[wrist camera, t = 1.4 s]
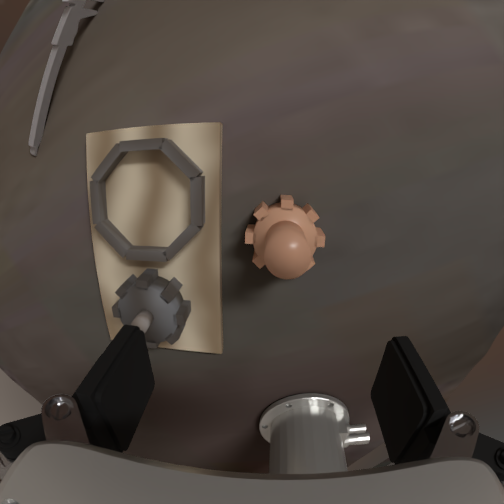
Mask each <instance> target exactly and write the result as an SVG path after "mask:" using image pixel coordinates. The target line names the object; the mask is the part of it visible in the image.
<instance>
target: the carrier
mask: <svg viewBox="0 0 504 504" xmlns="http://www.w3.org/2000/svg"><path fill="white" fill-rule="evenodd" d="M222 125H223V124H222V123H221V122H217V123H186V124H169V125H155V126H144V127H134V128H125V129H116V130H109V131H101V132H95V133H88V134H87V135H86V150H87V183H88V199H89V212H90V222H91V232H92V240H93V248H94V255H95V262H96V269H97V275H98V281H99V286H100V292H101V297H102V302H103V307H104V312H105V317H106V321H107V326H108V330H109V334H110V338H111V340H113V339H114V337H115V336H116V335H117V333H118V332H119V331H120V329H121V328H122V327H123V326H124V325H133V326H138V327H139V328H140V330H142V331H143V332H144V334H145V340H146V345H147V347H148V348H155V349H157V348H158V347H162V348H170V349H178V350H187V351H197V352H207V353H218V354H222V351H223V319H222V259H221V184H222Z"/></svg>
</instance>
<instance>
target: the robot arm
mask: <svg viewBox="0 0 504 504" xmlns="http://www.w3.org/2000/svg"><path fill="white" fill-rule="evenodd" d="M154 384H155V383H154V377H153V372H152V368H151V364H150V359H149V354H148V350H147V345H146V340H145V334H144V332H143V331H142V330H140V328H139V327H138V326H133V325H124V326H123V327H122V328H121V329H120V331H119V332H118V333H117V335H116V336H115V337H114V339H113V340H112V342H111V343H110V344H109V346H108V347H107V348H106V350H105V351H104V353H103V354H102V355H101V356H100V357H99V359H98V360H97V361H96V363H95V364H94V366H93V367H92V368H91V370H90V371H89V373H88V374H87V376H86V377H85V378H84V380H83V381H82V383H81V384H80V386H79V387H78V389H77V390H76V392H75V393H74V394H73V396H72V397H71V396H69V395H66V394H57V395H54V396H51V397H50V398H48V399H47V400H46V401H45V402H44V403H43V405H42V408H41V414H38V415H35V416H31V417H28V418H24V419H21V420H17V421H13V422H10V423H6V424H4V425H2V426H0V504H504V443H503V442H500V441H498V440H495V439H493V438H491V437H488V436H486V435H483V434H481V433H479V424H478V421H477V420H476V418H475V417H474V416H472V415H471V414H469V413H467V412H463V411H455V412H453V413H451V412H450V410H449V408H448V406H447V404H446V402H445V400H444V399H443V397H442V395H441V393H440V391H439V389H438V388H437V386H436V384H435V382H434V380H433V379H432V377H431V375H430V373H429V372H428V370H427V368H426V366H425V365H424V363H423V361H422V359H421V358H420V356H419V354H418V353H417V351H416V349H415V348H414V346H413V344H412V343H411V341H410V339H409V338H408V337H407V336H401V337H393V338H392V340H391V341H388V343H387V345H386V349H385V352H384V355H383V358H382V361H381V364H380V367H379V370H378V373H377V376H376V379H375V382H374V384H373V387H372V390H371V399H372V402H373V405H374V408H375V411H376V414H377V418H378V421H379V424H380V427H381V431H382V434H383V437H384V441H385V444H386V448H387V451H388V455H389V458H390V461H391V462H392V463H393V462H394V463H395V465H390V466H384V467H377V468H369V469H362V470H353V471H347V465H346V459H345V453H344V448H346V447H348V445H354V444H356V445H359V444H368V443H369V440H370V435H369V432H365V431H366V425H365V424H356V425H349V413H348V410H347V407H346V406H345V405H344V403H342V402H341V401H340V400H338V399H336V398H334V397H332V396H328V395H325V394H317V393H305V394H297V395H293V396H289V397H286V398H283V399H281V400H279V401H277V402H275V403H273V404H272V405H270V406H269V407H268V408H267V409H266V410H265V411H264V412H263V414H262V416H261V418H260V423H259V430H260V433H261V435H262V436H263V438H264V439H265V440H266V441H268V442H269V443H270V461H269V474H260V473H242V472H230V471H219V470H210V469H202V468H195V467H189V466H182V465H176V464H171V463H166V462H161V461H156V460H151V459H146V458H142V457H137V456H133V455H129V454H125V453H122V452H123V450H124V451H126V450H127V449H128V447H129V445H130V442H131V440H132V438H133V435H134V433H135V431H136V428H137V426H138V423H139V421H140V419H141V417H142V414H143V412H144V410H145V407H146V405H147V403H148V400H149V398H150V396H151V394H152V391H153V389H154ZM352 433H353V434H352Z"/></svg>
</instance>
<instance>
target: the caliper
mask: <svg viewBox="0 0 504 504" xmlns="http://www.w3.org/2000/svg"><path fill="white" fill-rule="evenodd" d="M93 1H97V2H104V0H93ZM62 2H69V4H70V5H69V6H66V8H65V10H64V12H63V14H62V17H61V19H60V22H59V24H58V27H57V30H56V32H55V35H54V38H53V41H52V43H51V44H53V48H52V51H51V54H50V57H49V60H48V63H47V66H46V69H45V73H44V76H43V79H42V83H41V87H40V91H39V95H38V99H37V103H36V107H35V112H34V116H33V121H32V127H31V132H30V138H29V144H28V145H30V146H31V148H30V152H31V154H32V155H34V156H36V155H37V150H38V146H39V145H40V142H41V138H42V135H43V131H44V126H45V121H46V117H47V112H48V108H49V104H50V100H51V96H52V92H53V89H54V85H55V82H56V78H57V75H58V72H59V69H60V66H61V63H62V60H63V57H64V54H65V51H66V48H67V46H71V45H72V44H73V41H74V37H75V35H76V34H77V30H78V23H79V21H80V19H81V18H85V17H90V16H94V15H96V14H97V13H98V11H95V10H91V9H84V8H83V7H84V4H85V2H86V0H62Z"/></svg>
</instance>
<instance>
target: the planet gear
mask: <svg viewBox="0 0 504 504" xmlns="http://www.w3.org/2000/svg"><path fill="white" fill-rule="evenodd" d="M253 215H254V216H255V217H256V218H257V221H256V224H255V225H254V224H248V226H247V229H246V232H245V244H253V246H254V249H255V250H254V254H253V259H252V262H253V263H254V264H255V265H256V266H257V267H258V268H259V269H261V268H262V267H263V266H264V265H265V264H266V267H267V269H268V270H269V271H270V272H271V273H272V274H273V275H274V276H276V277H278V278H281V279H294V278H297V277H299V276H301V275H302V274H303V273H304V272H305V271H307V270H309V269H310V268H311V267H312V266H313V265H315V262H314V259H313V256H312V255H313V254H314V252H315V250H316V247H324V245H325V235H324V233H323V231H322V230H321V228H318V227H315V225H314V222H315V221H316V220H317V219H319V216H318V215H317V214H316V212H315V211H314V210H313V209H312V207H311V206H310V205H309V204H308V203H307V204H306V205H305V206H304V207H303V208H301V207H300V206H298V205H296V204H294V203H293V198H292V196H291V195H280V202H278V203H274V204H272V205H270V206H267V205H266V204H265V202H264V201H263V202H261V203H260V204H259V205H258V206H257V207H256V208H255V211H254V214H253Z"/></svg>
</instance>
